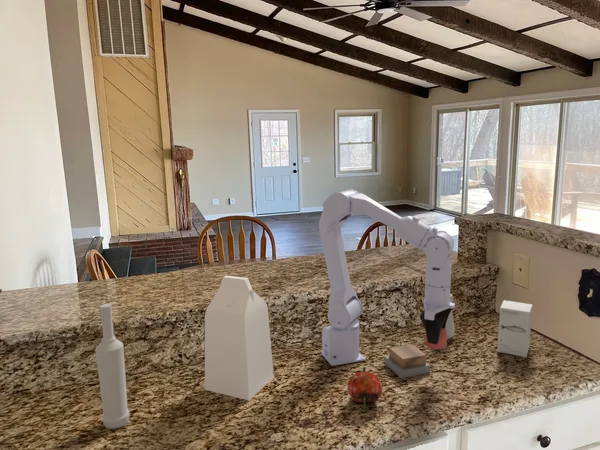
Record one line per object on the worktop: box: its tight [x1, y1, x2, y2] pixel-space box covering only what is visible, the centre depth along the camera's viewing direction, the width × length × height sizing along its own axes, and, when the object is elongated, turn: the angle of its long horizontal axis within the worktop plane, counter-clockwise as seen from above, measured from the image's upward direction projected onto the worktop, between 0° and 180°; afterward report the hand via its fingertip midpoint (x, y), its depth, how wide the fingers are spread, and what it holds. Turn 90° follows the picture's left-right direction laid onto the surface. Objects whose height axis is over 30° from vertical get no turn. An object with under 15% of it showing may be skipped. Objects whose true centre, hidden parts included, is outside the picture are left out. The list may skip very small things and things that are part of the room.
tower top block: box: [388, 344, 427, 369], centre depth 114 cm, size 6×6×2 cm
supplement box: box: [496, 299, 534, 358], centre depth 122 cm, size 7×7×13 cm
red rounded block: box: [424, 327, 448, 350], centre depth 109 cm, size 5×5×4 cm
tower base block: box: [384, 355, 431, 379], centre depth 114 cm, size 8×8×2 cm
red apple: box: [347, 366, 383, 413], centre depth 99 cm, size 7×7×10 cm
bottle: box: [95, 303, 130, 430], centre depth 92 cm, size 5×5×25 cm
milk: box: [204, 275, 275, 401], centre depth 107 cm, size 12×12×26 cm
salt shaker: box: [445, 293, 456, 340], centre depth 132 cm, size 6×6×13 cm
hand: (435, 338), depth 109 cm, fingers closed on red rounded block, 5 cm apart
